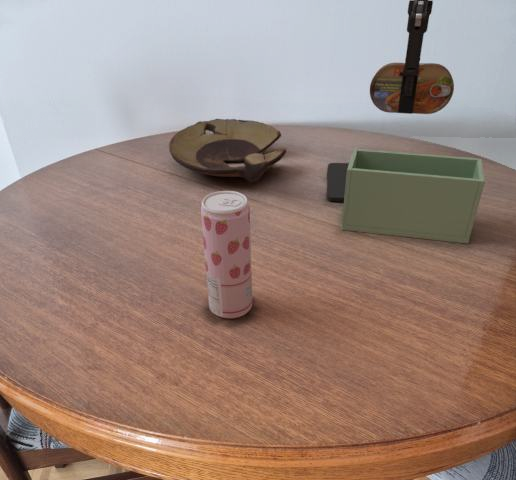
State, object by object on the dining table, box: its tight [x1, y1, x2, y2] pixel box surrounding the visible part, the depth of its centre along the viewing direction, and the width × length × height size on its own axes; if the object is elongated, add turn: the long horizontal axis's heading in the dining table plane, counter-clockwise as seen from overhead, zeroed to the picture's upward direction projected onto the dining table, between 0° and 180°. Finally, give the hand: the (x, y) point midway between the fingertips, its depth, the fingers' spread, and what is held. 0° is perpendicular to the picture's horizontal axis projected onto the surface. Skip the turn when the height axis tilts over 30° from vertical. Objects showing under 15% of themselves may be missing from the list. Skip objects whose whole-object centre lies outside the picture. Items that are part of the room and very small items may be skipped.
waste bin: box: [341, 148, 486, 245], centre depth 85 cm, size 19×8×10 cm, turn 76°
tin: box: [369, 62, 455, 115], centre depth 101 cm, size 15×3×8 cm, turn 75°
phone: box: [326, 162, 349, 203], centre depth 99 cm, size 7×1×15 cm
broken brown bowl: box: [168, 118, 287, 183], centre depth 102 cm, size 22×30×8 cm
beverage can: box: [200, 190, 253, 319], centre depth 67 cm, size 6×6×15 cm
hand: (405, 109), depth 104 cm, fingers closed on tin, 3 cm apart
